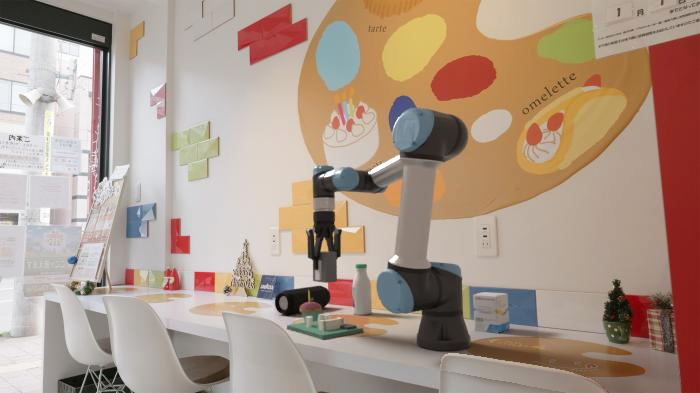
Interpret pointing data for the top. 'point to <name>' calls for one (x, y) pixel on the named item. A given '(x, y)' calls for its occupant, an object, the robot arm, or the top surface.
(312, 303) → the cupcake
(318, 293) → the portable speaker
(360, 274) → the milk bottle
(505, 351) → the top surface
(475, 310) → the ink box
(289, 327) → the board
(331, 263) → the block
